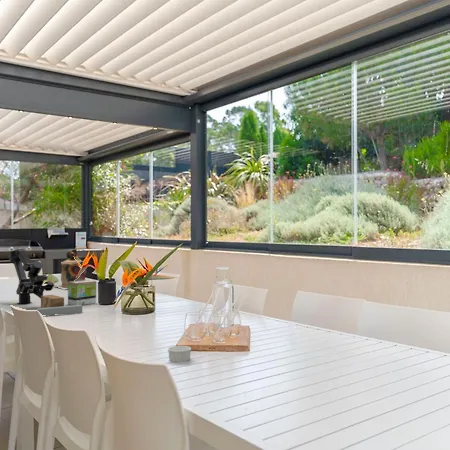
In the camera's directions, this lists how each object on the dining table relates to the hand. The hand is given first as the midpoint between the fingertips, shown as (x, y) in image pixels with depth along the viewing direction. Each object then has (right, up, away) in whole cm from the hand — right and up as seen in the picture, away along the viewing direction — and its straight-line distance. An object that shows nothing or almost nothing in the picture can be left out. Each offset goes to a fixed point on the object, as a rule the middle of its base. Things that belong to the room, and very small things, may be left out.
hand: (41, 298), depth 293 cm
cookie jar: (-12, -6, +99) cm, 100 cm away
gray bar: (+17, -7, -18) cm, 26 cm away
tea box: (+19, -7, +18) cm, 27 cm away
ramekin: (+94, -7, -109) cm, 144 cm away
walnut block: (+10, -6, -10) cm, 16 cm away
